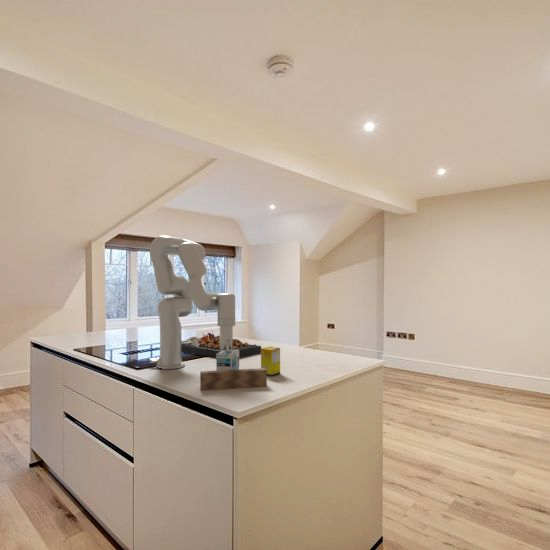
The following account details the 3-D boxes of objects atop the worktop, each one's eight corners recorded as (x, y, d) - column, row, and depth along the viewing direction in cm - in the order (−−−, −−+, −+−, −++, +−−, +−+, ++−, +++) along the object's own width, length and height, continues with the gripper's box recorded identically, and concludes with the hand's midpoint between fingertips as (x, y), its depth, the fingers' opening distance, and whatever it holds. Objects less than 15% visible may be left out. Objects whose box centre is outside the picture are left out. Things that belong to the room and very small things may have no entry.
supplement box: (269, 371, 158) (269, 346, 158) (280, 373, 154) (280, 347, 154) (260, 374, 153) (260, 348, 154) (271, 376, 150) (271, 349, 150)
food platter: (173, 351, 210) (173, 333, 210) (206, 345, 229) (206, 329, 229) (228, 361, 182) (228, 340, 182) (261, 354, 201) (261, 335, 201)
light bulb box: (232, 382, 141) (232, 354, 141) (215, 381, 142) (215, 353, 142) (239, 375, 152) (239, 349, 152) (224, 374, 153) (224, 348, 153)
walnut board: (200, 390, 131) (200, 373, 131) (200, 388, 134) (200, 371, 134) (266, 386, 136) (266, 369, 136) (265, 384, 139) (265, 368, 139)
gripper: (216, 320, 163) (216, 362, 162) (218, 324, 148) (218, 370, 148) (233, 320, 165) (233, 361, 164) (237, 323, 150) (237, 369, 150)
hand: (226, 365), depth 156 cm, fingers closed
